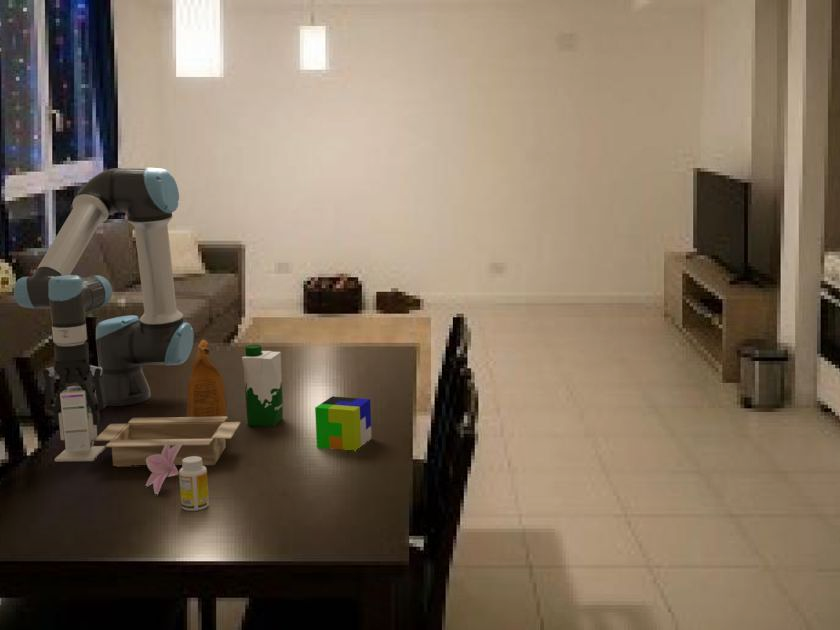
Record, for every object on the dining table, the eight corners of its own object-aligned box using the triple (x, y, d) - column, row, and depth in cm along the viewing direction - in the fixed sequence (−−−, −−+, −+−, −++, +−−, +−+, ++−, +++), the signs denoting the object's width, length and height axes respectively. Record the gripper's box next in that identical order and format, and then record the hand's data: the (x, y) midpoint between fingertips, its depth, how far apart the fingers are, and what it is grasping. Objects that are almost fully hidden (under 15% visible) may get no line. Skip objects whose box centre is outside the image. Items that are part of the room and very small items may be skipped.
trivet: (68, 449, 255) (67, 446, 255) (105, 448, 255) (105, 446, 255) (54, 461, 247) (54, 459, 246) (93, 460, 246) (93, 458, 246)
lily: (150, 480, 236) (129, 450, 230) (198, 457, 236) (179, 427, 231) (154, 515, 226) (133, 484, 220) (205, 490, 226) (185, 459, 221)
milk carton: (254, 416, 279) (250, 342, 275) (287, 417, 277) (283, 343, 273) (242, 426, 270) (238, 350, 266) (276, 428, 268) (272, 351, 264)
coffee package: (228, 419, 277) (223, 337, 272) (227, 433, 265) (222, 347, 260) (189, 422, 275) (183, 339, 271) (187, 436, 263) (181, 350, 259)
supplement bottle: (209, 500, 220) (206, 453, 218) (209, 510, 215) (206, 462, 213) (181, 503, 219) (178, 455, 217) (180, 513, 214) (177, 464, 212)
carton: (118, 442, 259) (116, 418, 258) (245, 441, 259) (244, 416, 257) (90, 472, 238) (87, 446, 237) (228, 470, 238) (226, 443, 236)
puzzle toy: (371, 438, 258) (370, 399, 256) (355, 451, 249) (354, 410, 247) (333, 435, 262) (332, 396, 260) (316, 448, 252) (315, 407, 250)
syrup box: (91, 451, 248) (86, 391, 245) (64, 452, 247) (59, 392, 244) (94, 443, 254) (89, 384, 251) (68, 445, 253) (63, 386, 250)
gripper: (23, 347, 242) (32, 443, 247) (106, 345, 242) (115, 442, 246) (35, 339, 249) (44, 433, 254) (116, 338, 249) (124, 432, 254)
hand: (79, 437), depth 250 cm, fingers closed on syrup box, 6 cm apart
